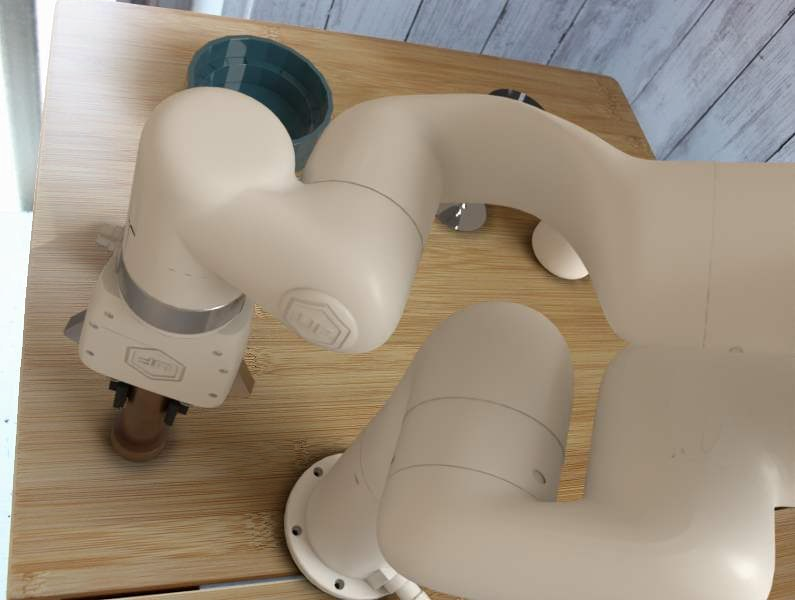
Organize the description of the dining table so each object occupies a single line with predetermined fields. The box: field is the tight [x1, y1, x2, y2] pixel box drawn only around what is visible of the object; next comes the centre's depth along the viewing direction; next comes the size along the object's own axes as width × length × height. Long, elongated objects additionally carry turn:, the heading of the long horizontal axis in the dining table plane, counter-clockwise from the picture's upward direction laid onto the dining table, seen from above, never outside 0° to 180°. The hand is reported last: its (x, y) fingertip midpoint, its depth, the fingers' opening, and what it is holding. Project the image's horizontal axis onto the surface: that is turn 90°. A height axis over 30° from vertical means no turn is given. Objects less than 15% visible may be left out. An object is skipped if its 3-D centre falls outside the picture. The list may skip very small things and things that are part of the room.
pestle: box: [110, 385, 171, 463], centre depth 64 cm, size 4×4×13 cm
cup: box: [531, 219, 589, 280], centre depth 95 cm, size 8×12×10 cm
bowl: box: [182, 34, 334, 173], centre depth 89 cm, size 15×15×6 cm
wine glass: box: [435, 88, 546, 233], centre depth 90 cm, size 8×8×15 cm
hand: (149, 399), depth 63 cm, fingers closed on pestle, 3 cm apart
